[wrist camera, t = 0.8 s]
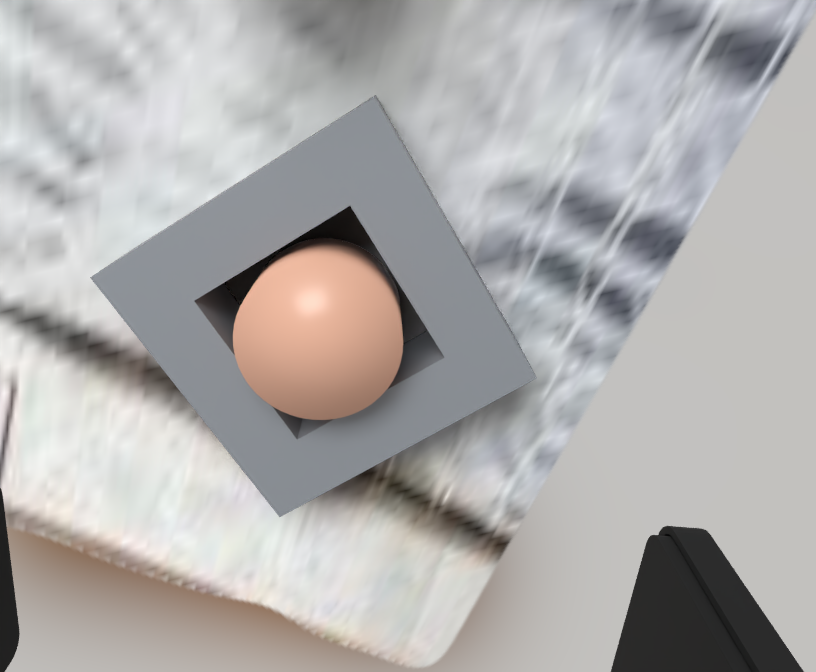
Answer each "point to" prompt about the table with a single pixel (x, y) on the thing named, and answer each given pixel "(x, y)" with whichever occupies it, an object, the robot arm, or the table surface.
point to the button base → (274, 228)
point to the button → (320, 330)
